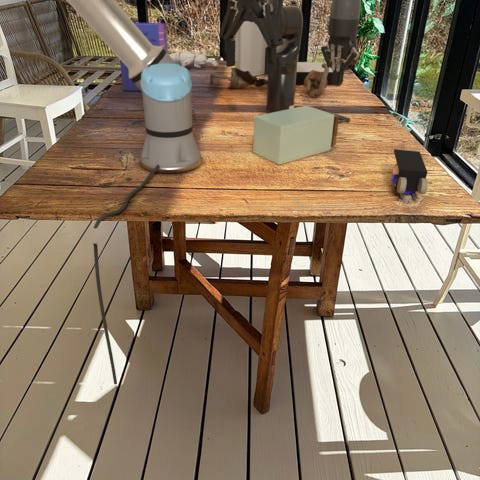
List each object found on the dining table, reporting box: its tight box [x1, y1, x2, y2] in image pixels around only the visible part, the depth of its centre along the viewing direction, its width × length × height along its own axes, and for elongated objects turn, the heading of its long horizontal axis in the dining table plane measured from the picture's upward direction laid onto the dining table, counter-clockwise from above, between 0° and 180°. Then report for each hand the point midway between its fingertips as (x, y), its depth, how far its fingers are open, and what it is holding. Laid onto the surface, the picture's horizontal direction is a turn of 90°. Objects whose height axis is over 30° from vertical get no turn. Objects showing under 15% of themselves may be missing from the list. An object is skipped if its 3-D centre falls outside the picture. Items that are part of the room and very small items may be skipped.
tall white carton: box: [234, 2, 268, 77], centre depth 210 cm, size 19×15×28 cm
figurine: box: [209, 66, 268, 89], centre depth 190 cm, size 24×8×30 cm
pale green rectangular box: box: [252, 105, 334, 165], centre depth 129 cm, size 19×11×10 cm, turn 126°
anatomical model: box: [303, 63, 329, 98], centre depth 183 cm, size 13×9×15 cm
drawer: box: [327, 110, 351, 146], centre depth 132 cm, size 23×10×8 cm, turn 126°
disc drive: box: [296, 61, 333, 86], centre depth 207 cm, size 18×22×5 cm
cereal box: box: [119, 22, 169, 92], centre depth 181 cm, size 17×5×24 cm, turn 86°
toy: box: [168, 50, 219, 69], centre depth 223 cm, size 24×25×7 cm
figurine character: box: [391, 148, 429, 201], centre depth 109 cm, size 7×8×15 cm
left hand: (249, 70), depth 128 cm, fingers open, 13 cm apart
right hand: (336, 85), depth 131 cm, fingers closed
